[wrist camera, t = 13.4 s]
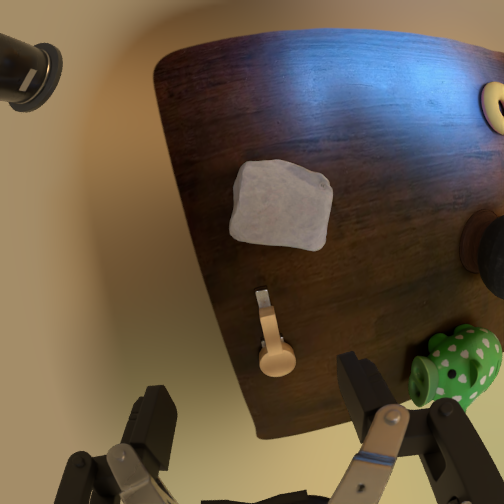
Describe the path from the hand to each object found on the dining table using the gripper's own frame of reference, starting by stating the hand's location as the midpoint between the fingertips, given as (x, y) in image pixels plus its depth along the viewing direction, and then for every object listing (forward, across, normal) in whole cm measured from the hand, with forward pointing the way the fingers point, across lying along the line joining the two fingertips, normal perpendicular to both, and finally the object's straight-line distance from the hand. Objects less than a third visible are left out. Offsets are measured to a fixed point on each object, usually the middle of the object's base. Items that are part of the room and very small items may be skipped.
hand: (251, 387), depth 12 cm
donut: (+26, -46, -14) cm, 55 cm away
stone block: (+26, -5, -3) cm, 27 cm away
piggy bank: (+26, -32, +29) cm, 50 cm away
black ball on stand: (+26, -39, +9) cm, 48 cm away
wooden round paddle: (+25, -1, +15) cm, 29 cm away
